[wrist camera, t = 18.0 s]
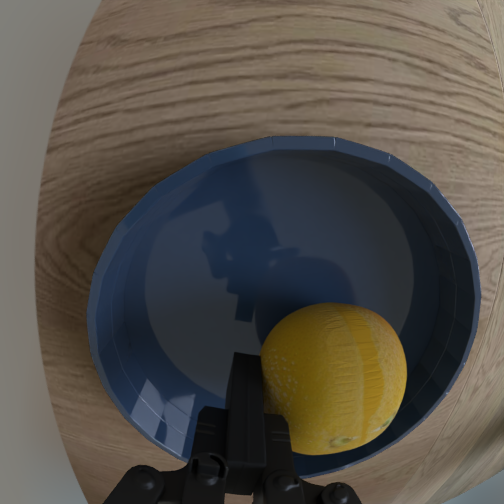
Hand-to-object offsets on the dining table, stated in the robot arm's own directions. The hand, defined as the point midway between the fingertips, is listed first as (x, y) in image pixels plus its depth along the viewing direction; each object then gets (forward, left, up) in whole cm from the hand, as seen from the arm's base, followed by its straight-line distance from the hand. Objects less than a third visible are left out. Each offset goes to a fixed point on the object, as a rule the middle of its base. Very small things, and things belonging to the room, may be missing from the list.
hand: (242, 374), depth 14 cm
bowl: (+3, 0, -5) cm, 6 cm away
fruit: (+4, 0, -4) cm, 6 cm away
